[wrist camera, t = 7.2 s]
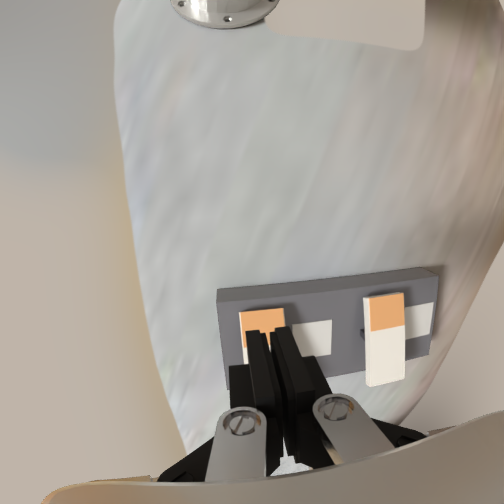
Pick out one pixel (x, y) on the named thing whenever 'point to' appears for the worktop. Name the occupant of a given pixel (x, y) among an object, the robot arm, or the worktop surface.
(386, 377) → the rocker
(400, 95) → the worktop surface
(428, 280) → the switch panel
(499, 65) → the worktop surface
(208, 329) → the worktop surface
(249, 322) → the rocker
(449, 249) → the worktop surface
